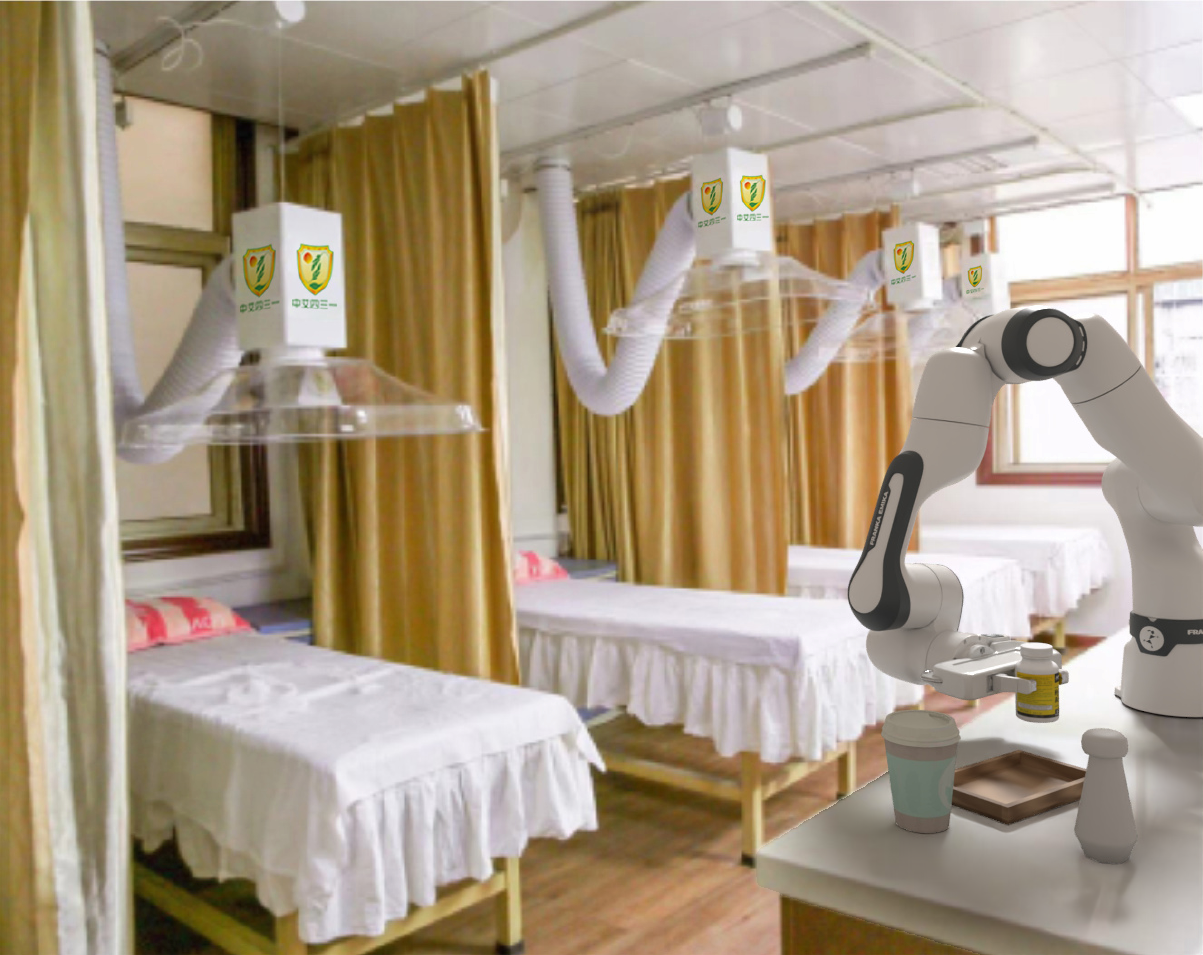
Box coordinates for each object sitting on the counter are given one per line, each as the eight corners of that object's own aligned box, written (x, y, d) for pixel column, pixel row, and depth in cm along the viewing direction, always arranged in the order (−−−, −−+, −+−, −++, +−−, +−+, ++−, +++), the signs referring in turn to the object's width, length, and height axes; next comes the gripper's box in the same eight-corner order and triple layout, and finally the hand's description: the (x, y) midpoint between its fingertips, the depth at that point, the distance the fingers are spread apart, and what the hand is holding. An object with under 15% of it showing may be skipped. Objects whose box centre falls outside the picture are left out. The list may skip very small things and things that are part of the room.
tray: (1018, 764, 137) (1018, 749, 136) (1104, 790, 126) (1104, 774, 126) (923, 794, 127) (923, 778, 127) (1008, 825, 117) (1007, 807, 117)
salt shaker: (1111, 872, 104) (1110, 743, 104) (1062, 852, 109) (1060, 729, 109) (1149, 859, 107) (1148, 733, 106) (1100, 840, 112) (1098, 720, 111)
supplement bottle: (1064, 724, 137) (1062, 650, 136) (1019, 723, 138) (1018, 650, 137) (1054, 712, 142) (1053, 641, 141) (1012, 712, 143) (1010, 641, 142)
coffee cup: (951, 844, 112) (949, 733, 112) (873, 830, 117) (870, 724, 116) (970, 817, 120) (968, 713, 119) (895, 805, 124) (893, 704, 124)
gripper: (911, 653, 144) (997, 672, 132) (1008, 631, 155) (1095, 647, 143) (913, 699, 144) (998, 721, 133) (1009, 674, 155) (1096, 692, 143)
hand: (1049, 682), depth 138 cm, fingers closed on supplement bottle, 5 cm apart
